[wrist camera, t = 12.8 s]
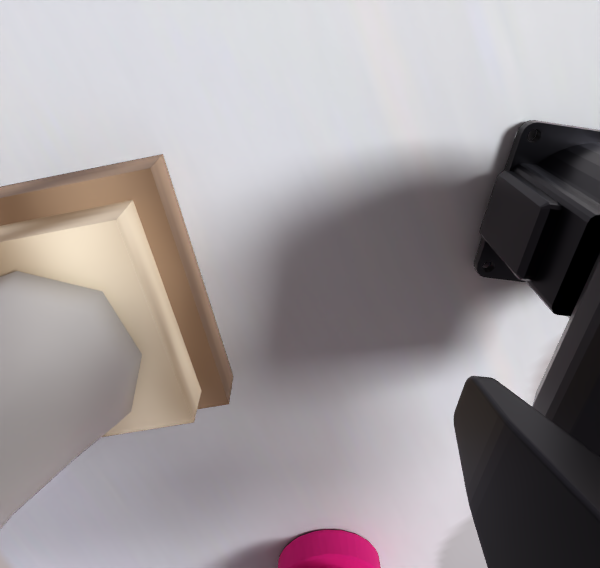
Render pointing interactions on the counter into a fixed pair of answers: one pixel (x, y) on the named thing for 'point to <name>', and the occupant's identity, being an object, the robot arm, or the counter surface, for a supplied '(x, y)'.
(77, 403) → the flask
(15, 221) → the tower base
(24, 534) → the counter surface
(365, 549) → the pepper mill
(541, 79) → the counter surface
